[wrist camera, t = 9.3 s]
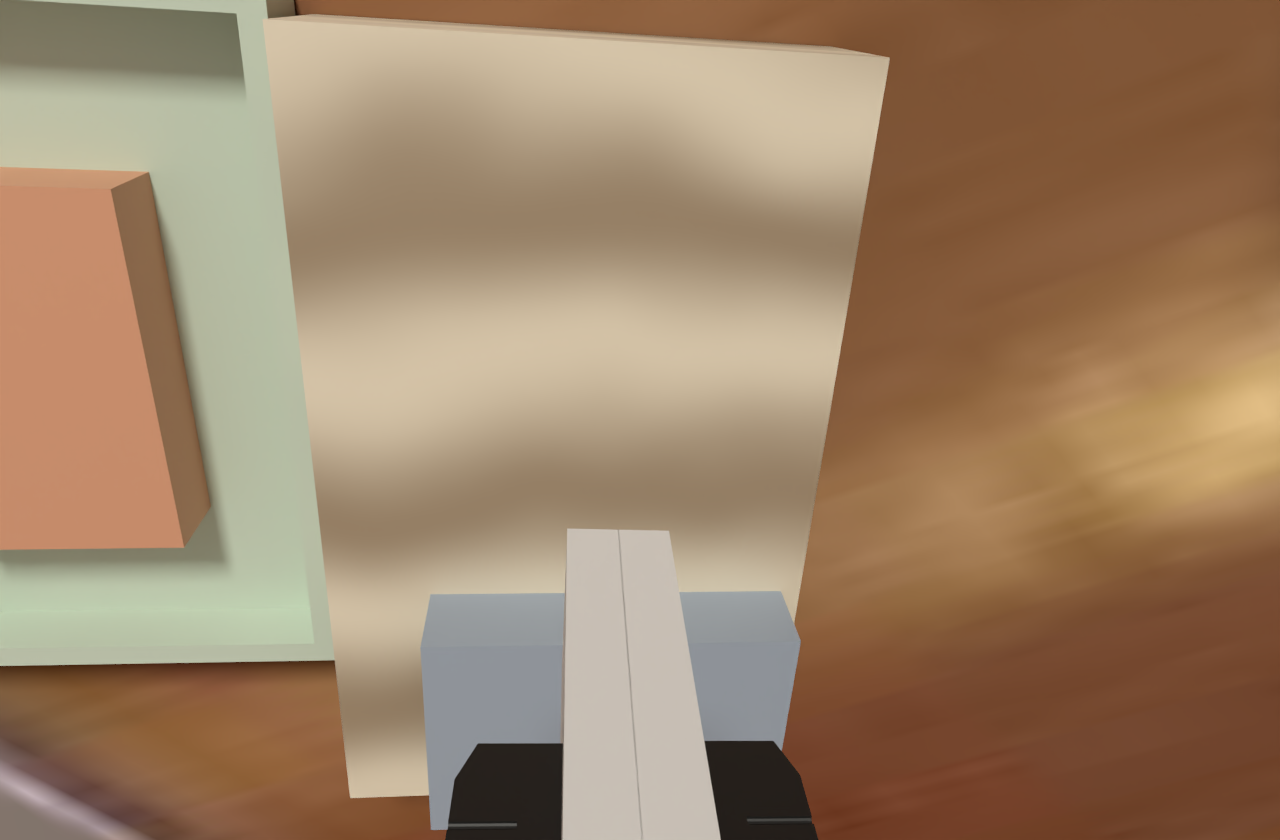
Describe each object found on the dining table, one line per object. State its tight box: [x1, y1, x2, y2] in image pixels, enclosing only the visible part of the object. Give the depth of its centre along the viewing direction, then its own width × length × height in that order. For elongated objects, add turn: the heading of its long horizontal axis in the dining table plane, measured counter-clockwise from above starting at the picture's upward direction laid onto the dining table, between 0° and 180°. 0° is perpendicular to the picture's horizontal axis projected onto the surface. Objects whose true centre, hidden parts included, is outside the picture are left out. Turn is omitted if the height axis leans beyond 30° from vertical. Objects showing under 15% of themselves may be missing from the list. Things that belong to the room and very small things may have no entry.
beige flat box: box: [263, 14, 890, 798], centre depth 23 cm, size 20×12×4 cm, turn 177°
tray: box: [0, 0, 335, 666], centre depth 22 cm, size 17×11×2 cm, turn 177°
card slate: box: [420, 591, 801, 830], centre depth 23 cm, size 9×6×2 cm, turn 86°
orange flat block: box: [0, 167, 211, 550], centre depth 21 cm, size 9×6×2 cm, turn 177°
